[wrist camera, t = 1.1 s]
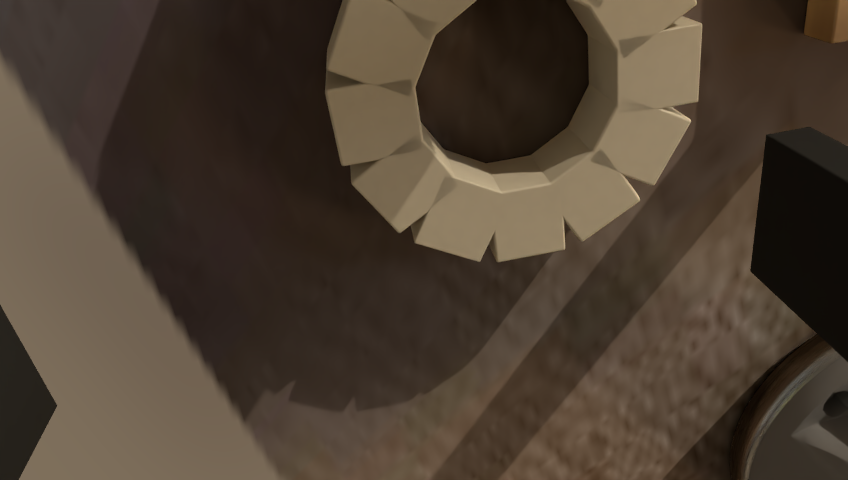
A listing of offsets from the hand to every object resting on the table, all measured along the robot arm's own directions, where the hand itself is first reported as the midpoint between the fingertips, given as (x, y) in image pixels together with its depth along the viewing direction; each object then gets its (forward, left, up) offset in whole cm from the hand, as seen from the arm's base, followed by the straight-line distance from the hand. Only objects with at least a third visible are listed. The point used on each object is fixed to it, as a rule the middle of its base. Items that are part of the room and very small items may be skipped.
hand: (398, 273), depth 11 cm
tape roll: (0, -4, -12) cm, 13 cm away
